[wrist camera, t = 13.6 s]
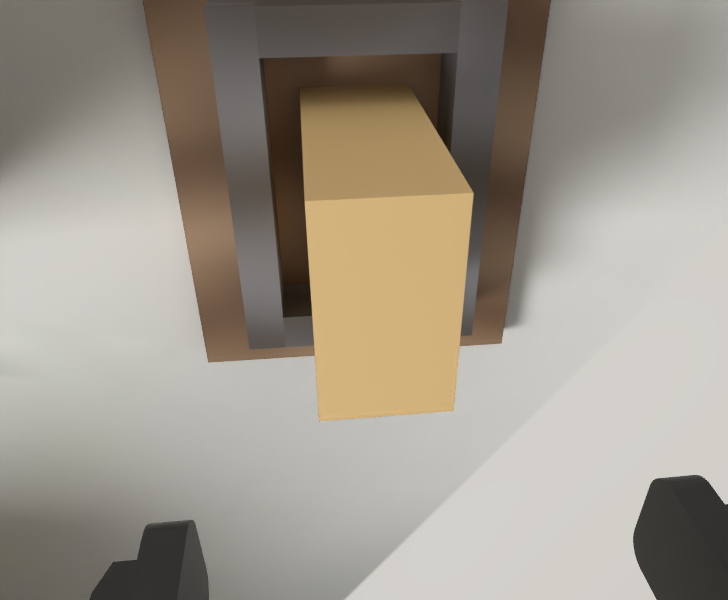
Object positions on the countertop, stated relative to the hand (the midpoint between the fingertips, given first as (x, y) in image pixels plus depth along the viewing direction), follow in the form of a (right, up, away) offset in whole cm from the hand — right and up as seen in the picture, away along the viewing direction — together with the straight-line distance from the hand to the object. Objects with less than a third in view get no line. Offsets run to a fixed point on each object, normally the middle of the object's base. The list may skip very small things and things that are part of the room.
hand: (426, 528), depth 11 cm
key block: (-1, +9, +14) cm, 17 cm away
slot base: (-2, +10, +15) cm, 18 cm away
